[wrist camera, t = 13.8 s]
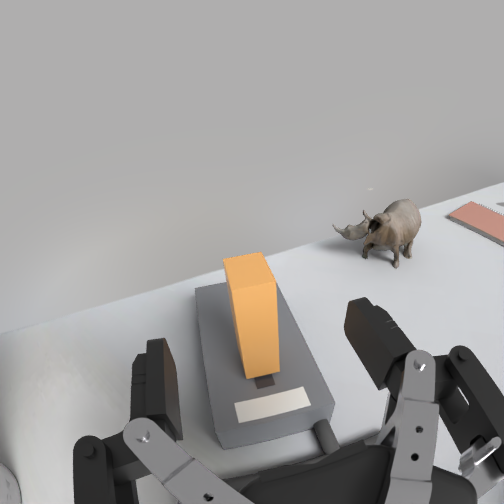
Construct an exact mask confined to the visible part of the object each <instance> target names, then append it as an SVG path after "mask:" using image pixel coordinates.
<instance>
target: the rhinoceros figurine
mask: <svg viewBox="0 0 504 504" xmlns="http://www.w3.org/2000/svg"><path fill="white" fill-rule="evenodd" d="M363 215H364V216H365V220H364V221H363V222H362V223H360V224H359V225H356V226H352V225H348V226H347V227H346V228H345V229H340V228H337V227H336V226H335V225H334V224H333V227H334V229H335V230H336V231H337V232H338V233H340V234H341V235H342V236H343V237H344V238H346V239H349V240H356V239H360V238H363V237H364V236H365V235H366V234H368V236H367V237H366V240H365V242H364V245H365V246H364V249H363V255H362V257H363V258H365V259H366V258H367V257H368V256H367V252H368V251H369V250H370V249H372V248H373V249H376V250H384V251H387V250H391V251H392V252H393V253H394V264H393V267H395V268H397V267H398V266H399V246H402V245H404V253H403V254H404V257H406V258H408V259H409V258H410V259H411V258H412V254H411V246H412V244H413V239H414V238H415V236H416V234H417V233H418V231H419V228H420V226H421V216H420V212H419V210H418V208H417V207H416V205H415V204H414V203H413V202H412V201H411V200H409V199H403V200H398V201H395V202H393V203H392V204H391V205H389V206H388V207H387V208H386V209H385V211H384V213H380V214H377V215H375V216H374V219H371V218H370V217H369V216H368V215H367V213H366V212H365V211H364V210H363ZM369 229H371V233H369ZM367 259H368V258H367Z"/></svg>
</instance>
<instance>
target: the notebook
mask: <svg viewBox="0 0 504 504" xmlns="http://www.w3.org/2000/svg"><path fill="white" fill-rule="evenodd" d="M449 216H451V217H450V220H451V221H453V222H455V223H458V224H460V225H462V226H464V227H466V228H468V229H470V230H472V231H474V232H476V233H478V234H480V235H482V236H484V237H486V238H488V239H490V240H492V241H494V242H496V243H498V244H500V245H502V246H504V214H503V215H502V214H500V213H498V212H497V211H496V212H495V210H494V211H493V209H492V210H491V208H490V209H489V208H487V207H485V206H484V205H483V206H482V204H481V205H480V204H476V203H474V202H472V201H471V202H469V203H468V204H466V205H464V206H463V207H461V208H459V209H458V210H456V211H454V212H453V213H451V214H449Z"/></svg>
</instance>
